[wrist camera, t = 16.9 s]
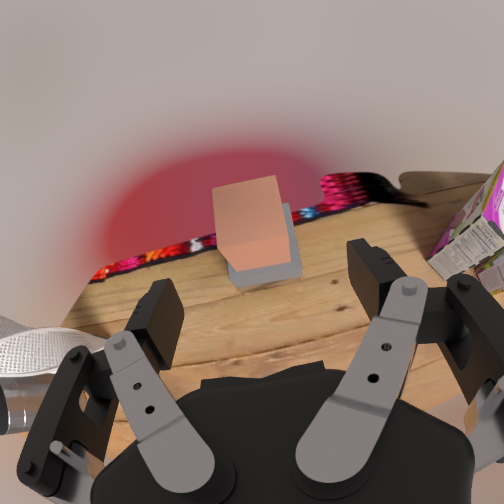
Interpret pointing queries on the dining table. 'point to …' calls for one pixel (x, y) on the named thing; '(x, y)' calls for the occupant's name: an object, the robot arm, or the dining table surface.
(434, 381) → the dining table surface
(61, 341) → the twisted tower model
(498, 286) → the snack box
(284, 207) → the gray block
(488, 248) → the candy bar box
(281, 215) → the salmon orange block
